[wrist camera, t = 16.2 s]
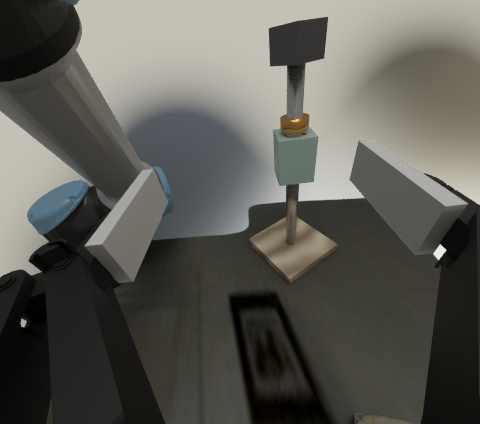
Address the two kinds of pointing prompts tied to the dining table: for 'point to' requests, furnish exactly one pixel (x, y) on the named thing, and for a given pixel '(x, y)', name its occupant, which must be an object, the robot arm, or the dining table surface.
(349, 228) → the dining table surface
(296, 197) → the post
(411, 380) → the dining table surface
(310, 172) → the sleeve
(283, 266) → the stand base
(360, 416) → the fossil
